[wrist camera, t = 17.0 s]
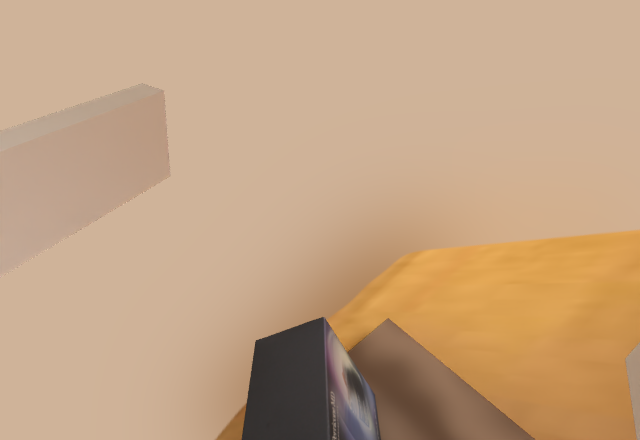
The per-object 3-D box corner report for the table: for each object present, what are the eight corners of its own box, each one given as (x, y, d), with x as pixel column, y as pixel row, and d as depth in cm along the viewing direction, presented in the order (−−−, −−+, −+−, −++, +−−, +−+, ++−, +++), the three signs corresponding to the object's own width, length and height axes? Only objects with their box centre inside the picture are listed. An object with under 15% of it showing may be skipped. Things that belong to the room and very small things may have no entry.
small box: (400, 528, 29) (332, 448, 24) (312, 550, 31) (230, 478, 26) (378, 390, 38) (326, 311, 33) (311, 412, 40) (250, 339, 34)
